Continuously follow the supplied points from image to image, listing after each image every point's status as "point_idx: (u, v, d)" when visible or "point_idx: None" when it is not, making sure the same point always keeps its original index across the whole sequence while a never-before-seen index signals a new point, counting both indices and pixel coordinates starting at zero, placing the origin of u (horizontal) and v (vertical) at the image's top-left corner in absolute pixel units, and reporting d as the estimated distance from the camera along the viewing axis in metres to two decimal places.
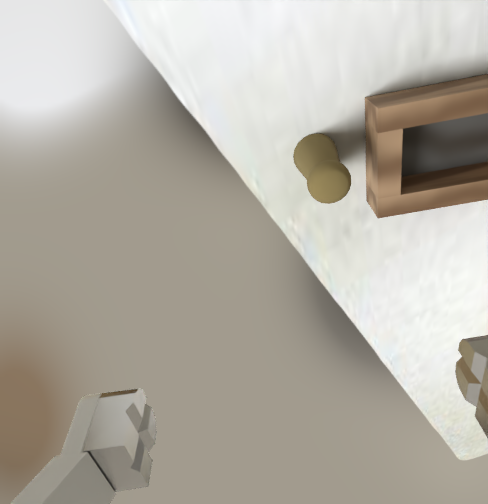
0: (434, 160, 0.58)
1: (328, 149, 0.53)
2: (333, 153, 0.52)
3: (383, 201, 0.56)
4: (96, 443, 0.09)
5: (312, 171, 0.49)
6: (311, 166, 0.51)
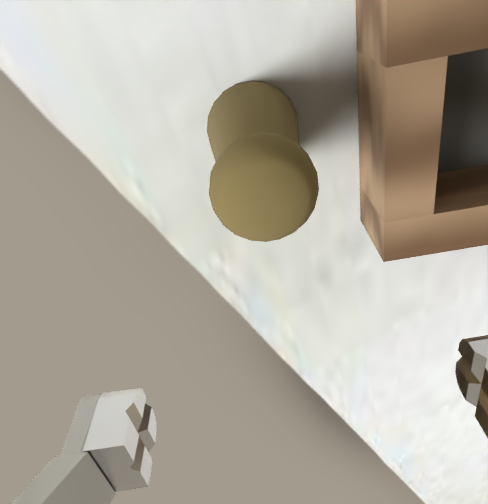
0: None
1: (269, 111, 0.23)
2: (281, 120, 0.22)
3: (396, 228, 0.26)
4: (96, 443, 0.09)
5: (217, 161, 0.19)
6: (224, 150, 0.21)
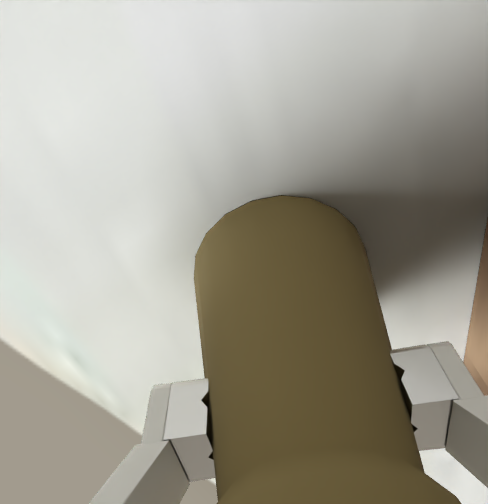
0: None
1: (334, 305, 0.10)
2: (363, 331, 0.09)
3: None
4: (176, 432, 0.09)
5: None
6: (228, 441, 0.08)
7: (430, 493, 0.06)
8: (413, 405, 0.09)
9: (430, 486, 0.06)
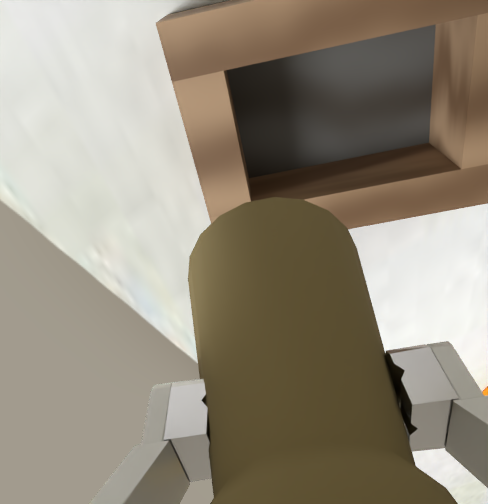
0: (329, 142, 0.31)
1: (327, 304, 0.10)
2: (355, 329, 0.10)
3: None
4: (176, 432, 0.09)
5: None
6: (224, 438, 0.08)
7: (421, 484, 0.06)
8: (413, 405, 0.09)
9: (421, 478, 0.07)
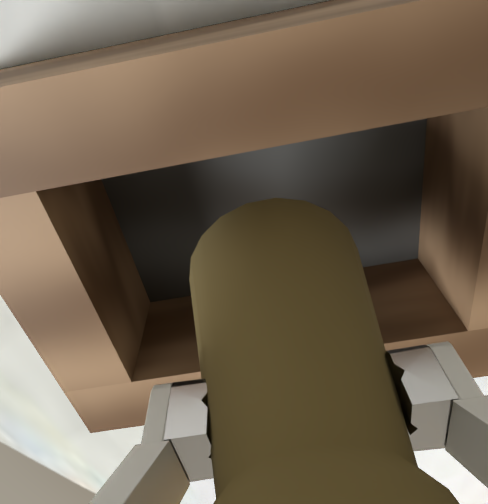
0: None
1: (329, 305, 0.10)
2: (357, 330, 0.10)
3: (85, 397, 0.18)
4: (176, 432, 0.09)
5: None
6: (226, 439, 0.08)
7: (423, 485, 0.06)
8: (413, 405, 0.09)
9: (423, 479, 0.07)
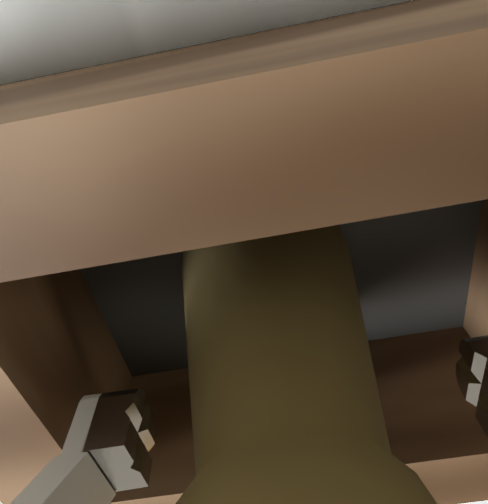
0: None
1: (310, 296, 0.10)
2: (338, 321, 0.10)
3: None
4: (96, 443, 0.09)
5: None
6: (206, 422, 0.09)
7: (389, 467, 0.07)
8: None
9: (390, 461, 0.07)
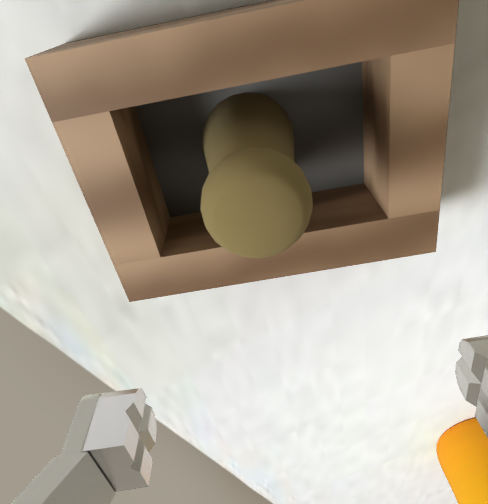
0: None
1: (264, 124, 0.22)
2: (276, 133, 0.22)
3: (128, 270, 0.26)
4: (96, 443, 0.09)
5: (209, 176, 0.18)
6: (217, 164, 0.21)
7: (283, 154, 0.19)
8: None
9: None
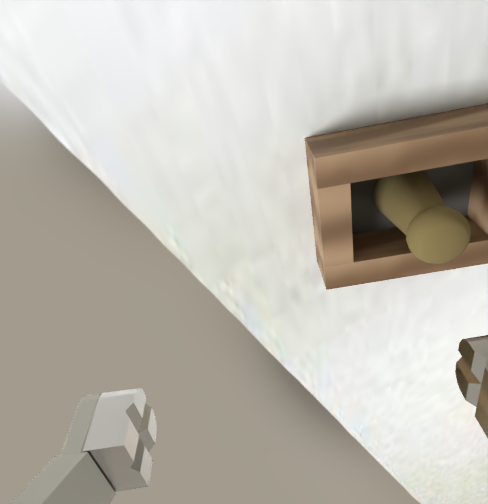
0: None
1: (429, 187, 0.39)
2: (436, 193, 0.39)
3: (332, 270, 0.43)
4: (96, 443, 0.09)
5: (418, 221, 0.36)
6: (410, 212, 0.38)
7: None
8: None
9: None
